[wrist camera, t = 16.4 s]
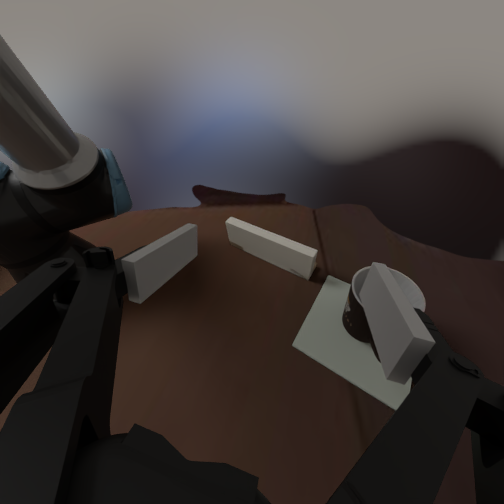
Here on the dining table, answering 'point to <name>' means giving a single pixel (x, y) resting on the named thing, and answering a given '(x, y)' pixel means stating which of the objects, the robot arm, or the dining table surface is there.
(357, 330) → the coffee mug
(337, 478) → the dining table surface
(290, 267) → the white rectangular block
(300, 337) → the mat
